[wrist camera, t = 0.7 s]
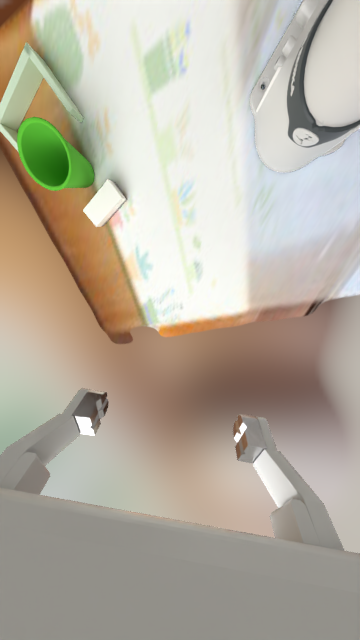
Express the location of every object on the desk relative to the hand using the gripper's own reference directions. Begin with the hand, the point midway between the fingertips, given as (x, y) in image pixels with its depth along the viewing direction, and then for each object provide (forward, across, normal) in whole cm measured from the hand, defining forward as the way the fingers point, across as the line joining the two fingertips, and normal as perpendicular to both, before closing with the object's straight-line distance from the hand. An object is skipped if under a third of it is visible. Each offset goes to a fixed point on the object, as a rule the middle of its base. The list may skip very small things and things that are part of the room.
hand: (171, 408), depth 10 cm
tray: (+40, +34, -23) cm, 57 cm away
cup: (+40, +27, -16) cm, 51 cm away
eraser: (+40, +22, -11) cm, 47 cm away
